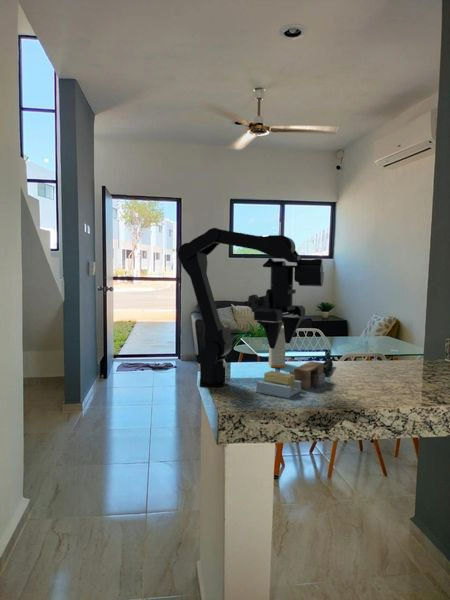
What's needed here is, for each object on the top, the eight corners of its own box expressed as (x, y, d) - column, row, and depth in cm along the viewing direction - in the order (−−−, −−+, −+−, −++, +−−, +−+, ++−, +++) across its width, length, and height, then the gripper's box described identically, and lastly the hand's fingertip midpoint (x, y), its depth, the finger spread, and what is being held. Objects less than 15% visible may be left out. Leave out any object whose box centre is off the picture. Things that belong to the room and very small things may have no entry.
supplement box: (285, 368, 137) (286, 328, 136) (270, 367, 137) (271, 327, 136) (282, 362, 145) (283, 324, 144) (268, 362, 145) (269, 324, 144)
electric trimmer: (335, 368, 140) (335, 358, 140) (326, 377, 126) (326, 367, 126) (324, 366, 141) (324, 357, 141) (313, 376, 127) (313, 366, 127)
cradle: (256, 392, 108) (256, 382, 108) (270, 385, 115) (270, 375, 115) (288, 398, 104) (288, 387, 103) (301, 390, 110) (301, 381, 110)
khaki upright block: (264, 386, 110) (264, 373, 110) (271, 383, 113) (271, 370, 113) (287, 391, 106) (288, 377, 106) (294, 388, 109) (294, 374, 108)
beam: (293, 387, 114) (294, 368, 113) (309, 378, 124) (310, 361, 123) (307, 389, 111) (308, 370, 111) (323, 380, 121) (323, 362, 121)
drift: (289, 383, 118) (289, 371, 118) (295, 381, 121) (296, 368, 121) (318, 389, 113) (319, 376, 112) (324, 386, 115) (325, 374, 115)
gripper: (269, 283, 120) (268, 338, 121) (235, 285, 104) (234, 347, 105) (306, 285, 114) (305, 342, 115) (276, 286, 98) (274, 352, 99)
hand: (280, 345), depth 109 cm, fingers open, 9 cm apart
